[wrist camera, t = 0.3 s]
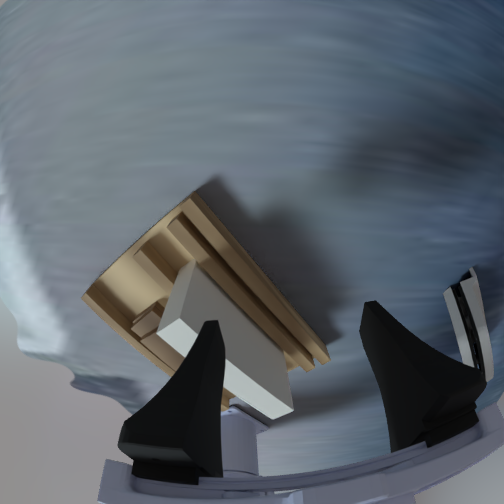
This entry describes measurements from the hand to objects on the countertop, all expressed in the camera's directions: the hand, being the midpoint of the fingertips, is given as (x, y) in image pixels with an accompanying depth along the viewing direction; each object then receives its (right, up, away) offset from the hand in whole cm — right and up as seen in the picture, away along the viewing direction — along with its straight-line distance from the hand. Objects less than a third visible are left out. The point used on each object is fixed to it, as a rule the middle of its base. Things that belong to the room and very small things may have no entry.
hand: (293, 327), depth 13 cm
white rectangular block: (-3, -2, +11) cm, 12 cm away
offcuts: (-9, -5, +13) cm, 16 cm away
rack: (-6, -3, +13) cm, 14 cm away
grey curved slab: (+26, -6, +16) cm, 31 cm away
